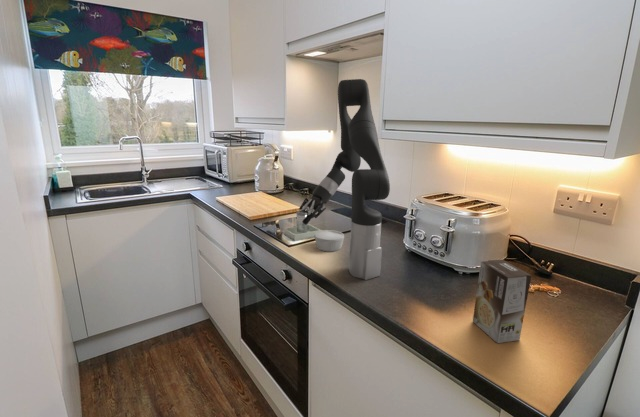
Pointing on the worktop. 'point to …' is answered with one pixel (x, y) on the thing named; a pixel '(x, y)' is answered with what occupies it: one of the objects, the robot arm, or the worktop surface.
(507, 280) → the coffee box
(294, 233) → the tray
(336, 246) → the ramekin
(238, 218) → the worktop surface
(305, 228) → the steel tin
